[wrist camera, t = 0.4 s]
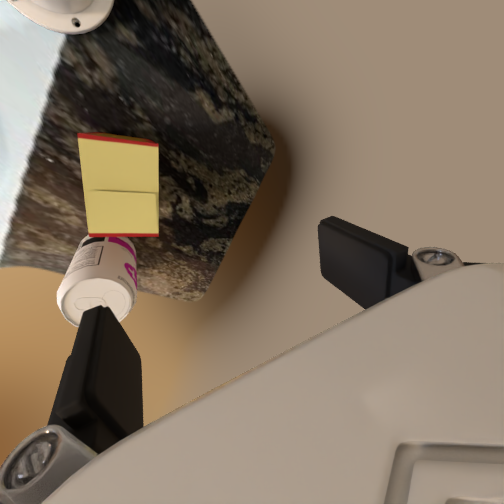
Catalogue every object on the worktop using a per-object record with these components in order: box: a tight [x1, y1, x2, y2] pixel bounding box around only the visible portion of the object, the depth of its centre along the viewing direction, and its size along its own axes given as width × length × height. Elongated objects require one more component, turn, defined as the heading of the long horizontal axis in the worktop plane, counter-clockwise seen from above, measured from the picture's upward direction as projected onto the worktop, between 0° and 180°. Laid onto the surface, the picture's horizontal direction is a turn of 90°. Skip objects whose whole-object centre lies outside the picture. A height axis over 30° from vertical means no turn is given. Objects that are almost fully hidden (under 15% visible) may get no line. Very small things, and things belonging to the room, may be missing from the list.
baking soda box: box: [77, 132, 159, 237], centre depth 31 cm, size 10×6×16 cm
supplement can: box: [57, 235, 137, 327], centre depth 35 cm, size 8×8×15 cm
